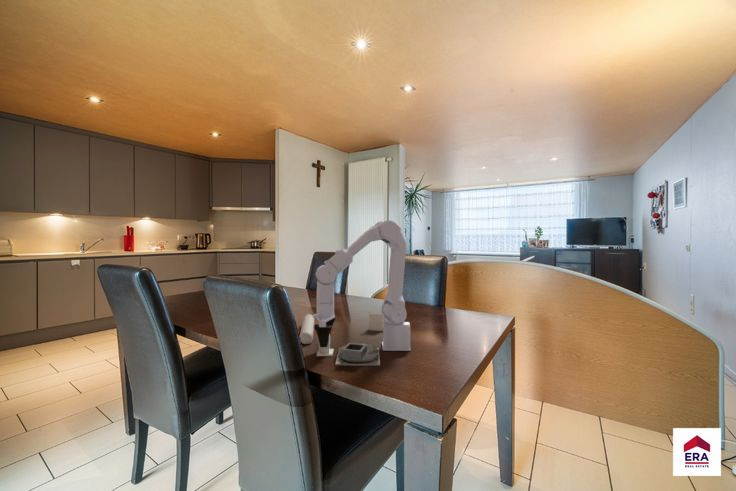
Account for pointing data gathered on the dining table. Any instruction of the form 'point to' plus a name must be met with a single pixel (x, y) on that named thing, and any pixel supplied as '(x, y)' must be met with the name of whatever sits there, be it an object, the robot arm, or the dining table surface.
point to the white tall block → (327, 349)
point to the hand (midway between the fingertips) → (325, 342)
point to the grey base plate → (358, 353)
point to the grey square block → (376, 322)
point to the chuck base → (371, 363)
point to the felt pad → (325, 353)
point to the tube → (307, 329)
